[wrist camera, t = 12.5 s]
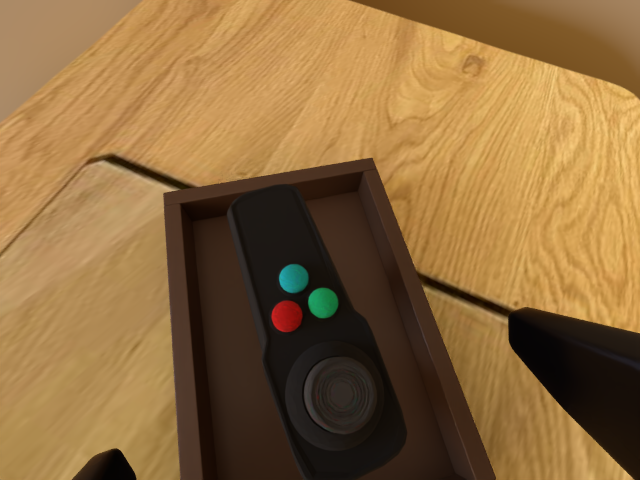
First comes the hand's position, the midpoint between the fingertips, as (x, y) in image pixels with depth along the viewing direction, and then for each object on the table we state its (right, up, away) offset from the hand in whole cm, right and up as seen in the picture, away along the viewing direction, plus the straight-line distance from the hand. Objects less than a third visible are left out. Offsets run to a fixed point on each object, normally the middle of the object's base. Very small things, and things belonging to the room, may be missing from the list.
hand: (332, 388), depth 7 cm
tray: (-1, -3, +13) cm, 13 cm away
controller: (-1, -2, +13) cm, 13 cm away
